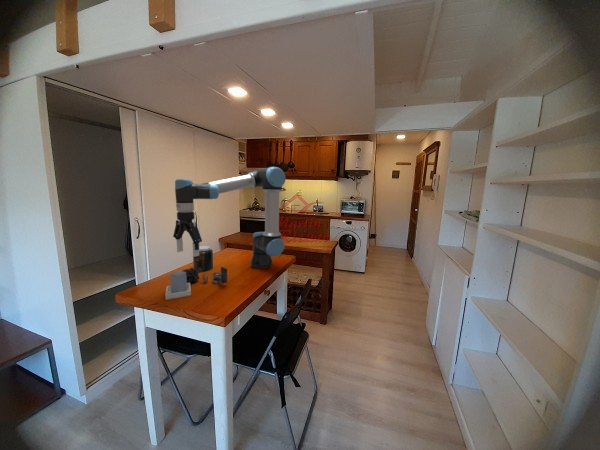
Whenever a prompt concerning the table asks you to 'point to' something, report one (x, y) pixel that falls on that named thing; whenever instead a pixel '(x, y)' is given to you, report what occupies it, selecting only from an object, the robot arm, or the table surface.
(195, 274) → the fruit
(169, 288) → the tray
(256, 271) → the table surface
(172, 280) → the block
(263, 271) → the table surface
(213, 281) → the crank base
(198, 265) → the jar
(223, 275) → the crank
